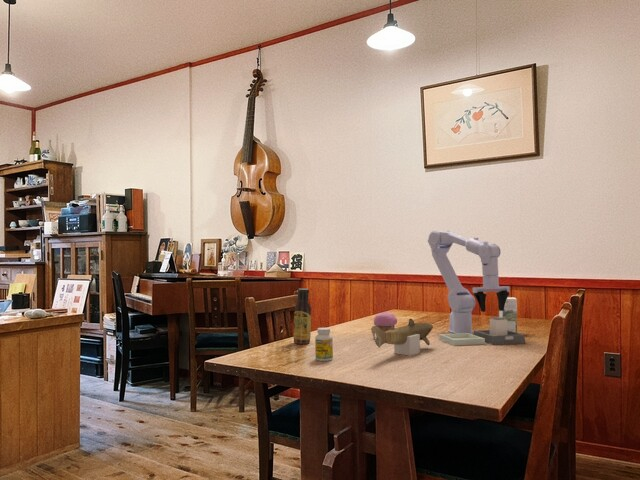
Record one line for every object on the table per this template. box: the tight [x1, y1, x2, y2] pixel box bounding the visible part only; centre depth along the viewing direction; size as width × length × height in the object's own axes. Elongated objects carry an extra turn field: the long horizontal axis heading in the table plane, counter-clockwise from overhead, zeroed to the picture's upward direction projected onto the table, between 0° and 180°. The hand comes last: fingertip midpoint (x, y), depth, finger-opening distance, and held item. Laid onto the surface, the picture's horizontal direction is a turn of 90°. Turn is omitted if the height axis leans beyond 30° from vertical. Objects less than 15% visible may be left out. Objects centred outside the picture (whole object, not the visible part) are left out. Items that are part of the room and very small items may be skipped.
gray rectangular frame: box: [473, 329, 526, 346], centre depth 182 cm, size 14×13×3 cm
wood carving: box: [370, 318, 434, 357], centre depth 160 cm, size 9×35×11 cm, turn 138°
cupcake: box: [373, 311, 398, 332], centre depth 189 cm, size 9×9×10 cm
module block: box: [489, 316, 507, 336], centre depth 182 cm, size 4×4×9 cm
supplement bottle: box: [314, 327, 334, 362], centre depth 152 cm, size 5×5×10 cm
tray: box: [438, 333, 486, 347], centre depth 180 cm, size 12×12×2 cm
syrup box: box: [498, 296, 518, 333], centre depth 199 cm, size 6×6×14 cm
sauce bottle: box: [292, 288, 312, 345], centre depth 179 cm, size 7×6×20 cm
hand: (492, 311), depth 186 cm, fingers open, 7 cm apart
